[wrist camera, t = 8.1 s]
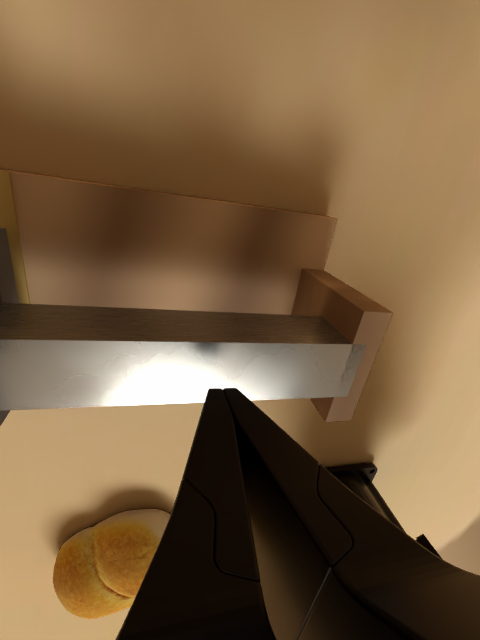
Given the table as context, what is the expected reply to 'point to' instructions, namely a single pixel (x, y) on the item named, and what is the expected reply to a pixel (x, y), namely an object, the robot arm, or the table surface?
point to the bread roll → (107, 562)
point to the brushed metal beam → (165, 356)
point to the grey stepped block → (6, 284)
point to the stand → (181, 259)
